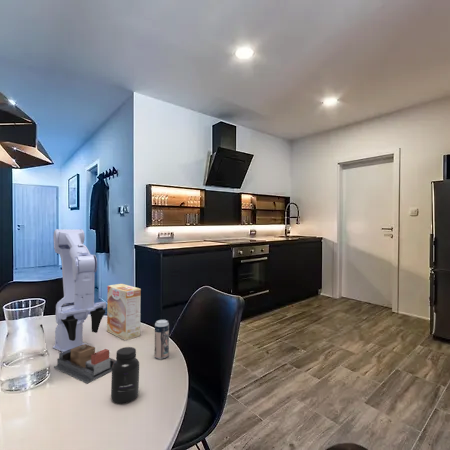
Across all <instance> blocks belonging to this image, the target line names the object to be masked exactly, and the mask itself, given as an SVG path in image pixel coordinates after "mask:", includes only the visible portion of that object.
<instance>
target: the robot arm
mask: <svg viewBox="0 0 450 450" xmlns="http://www.w3.org/2000/svg"><path fill="white" fill-rule="evenodd" d="M85 237H86V235H85V231H84V230H83V228H80V229H73V228H72V229H71V228H70V229H68V228H67V229H64V228H63V229H59V228H56V229H55V230H54V232H53V249H54V253H57V254H58V255H59V257H60V260H61V272H62V273H61V274H62V287H63V297H62V298H61V299H59V300H58V301H57V303H56V304H55V322H56V324H57V325H56V327H55V331H54V335H55V336H54V339H55V341H54V345H53V346H52V349H54V350H57V351H60V352H64V351H67V350H69V349H72V348H75V347H78V346H80V345H84V344H87V345H89V344H88V343H85V342H84V341H83V339H84V338H83V333H84V330H83V329H84V328H83V327H84V325H83V323H85V321H86V320H87V319H88V316H89V313H90V319H91V332H92V333H95V334H97V333H98V331H99V327H100V324H101V322H102V319H103V317H104V315H105V314H106V310H105V309H106V308H107V301H97V302H95V273H96V272H97V270H98V259H97V256H96V254H91V253H90V250H89V249H88V247H87V246H86V245H85V244H84V243H85V240H86V239H85Z"/></svg>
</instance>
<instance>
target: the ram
mask: <svg viewBox="0 0 450 450" xmlns="http://www.w3.org/2000/svg"><path fill="white" fill-rule="evenodd" d="M110 358H111V357H110V349H107V348H104V349H102V350H99V351H97V352H95V353H94V354H92V355H91V360H89V361H87V362H86V369H89V370H91V371H93V372H94V375H96V374H98V373H100V372H102V371H104V370H106V369H108V368H110Z"/></svg>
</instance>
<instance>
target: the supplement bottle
mask: <svg viewBox="0 0 450 450" xmlns="http://www.w3.org/2000/svg"><path fill="white" fill-rule="evenodd" d="M136 351H137V350H136V348H135V347H131V346H126V347H122V348H119V349H118V350H117V351H116V356H115V360H116V361H115V362H114V363H113V365H112V371H111V380H110V381H111V387H110V399H111V401H112V402H114V403H115V404H119V405H122V404H128V403H129V404H130V402H131V403H132V402H133V401H134V400H135V399H136V398H137V397H138V396H139V389H140V361H139V359H138V358H137V352H136Z"/></svg>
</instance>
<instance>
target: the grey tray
mask: <svg viewBox="0 0 450 450" xmlns="http://www.w3.org/2000/svg"><path fill="white" fill-rule="evenodd" d="M80 346H82V345H80ZM78 347H79V346H78ZM75 348H76V347H75ZM72 349H74V348H72ZM56 359H57V360H56V361H57V364H56V365H55V366H54V367H53V368H54V369H55V370H58V371H59V372H62V373H64V374H66V375H68V376H70V377H73V379H74V378H75V379H76V380H78V381H80V382H83V383H85V384H90V383H92V382H93V381H96V380H97V379H99V378H101V377H103V376H105V375H107V374H110V373H112V365H113V363H114V362H115V361H116V359H113V358H112V357H110V368H108V369H106V370H104V371H102V372H100V373H98V374H96V375H94V372H93V371H91V370H89V369H86V367H85V368H84V367H82V366H79V365H77V364H75V363H72V362H71V349H69V350H67V351H64V352H62V351H60V352H59V353H58V358H56Z"/></svg>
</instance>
